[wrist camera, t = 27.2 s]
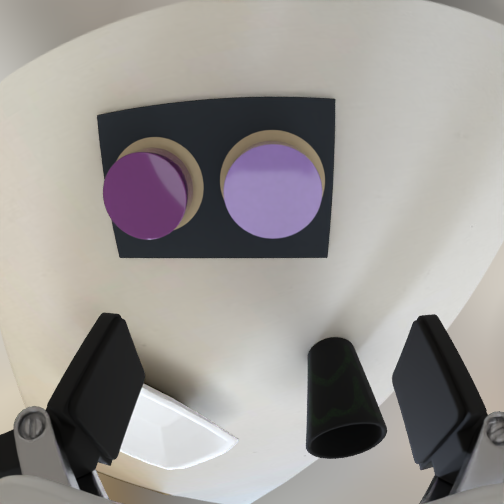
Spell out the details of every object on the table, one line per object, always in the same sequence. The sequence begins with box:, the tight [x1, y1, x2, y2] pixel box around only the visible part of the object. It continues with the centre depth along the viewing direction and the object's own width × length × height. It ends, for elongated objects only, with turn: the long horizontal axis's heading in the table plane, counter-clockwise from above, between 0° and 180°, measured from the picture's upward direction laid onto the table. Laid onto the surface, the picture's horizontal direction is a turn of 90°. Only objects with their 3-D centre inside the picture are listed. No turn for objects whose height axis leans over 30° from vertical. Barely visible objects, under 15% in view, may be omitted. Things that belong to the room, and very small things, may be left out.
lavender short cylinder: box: [223, 141, 322, 239], centre depth 23 cm, size 7×7×3 cm
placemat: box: [97, 97, 335, 258], centre depth 25 cm, size 14×20×1 cm
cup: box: [306, 337, 387, 459], centre depth 28 cm, size 8×8×12 cm
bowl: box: [120, 383, 239, 470], centre depth 38 cm, size 22×23×6 cm
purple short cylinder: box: [103, 147, 193, 240], centre depth 24 cm, size 7×7×3 cm
